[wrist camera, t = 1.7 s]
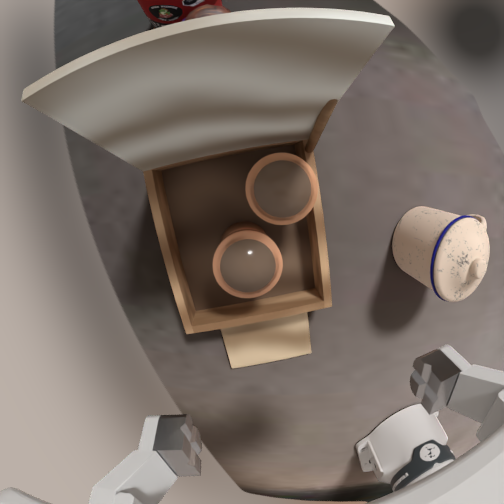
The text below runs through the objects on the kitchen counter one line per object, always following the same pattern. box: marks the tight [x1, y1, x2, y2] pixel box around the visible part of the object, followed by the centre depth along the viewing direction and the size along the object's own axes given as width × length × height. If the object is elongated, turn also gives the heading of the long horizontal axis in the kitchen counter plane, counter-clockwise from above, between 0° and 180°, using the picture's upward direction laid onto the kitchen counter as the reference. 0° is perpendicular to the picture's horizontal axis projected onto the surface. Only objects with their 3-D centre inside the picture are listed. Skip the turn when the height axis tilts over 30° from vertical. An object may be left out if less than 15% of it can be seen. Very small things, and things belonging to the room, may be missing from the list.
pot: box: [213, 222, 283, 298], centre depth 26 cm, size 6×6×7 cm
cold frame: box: [22, 8, 395, 334], centre depth 19 cm, size 20×15×20 cm
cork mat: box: [221, 312, 311, 368], centre depth 32 cm, size 7×10×1 cm
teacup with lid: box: [392, 206, 490, 302], centre depth 25 cm, size 12×9×12 cm
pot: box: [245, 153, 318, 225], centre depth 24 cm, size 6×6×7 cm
